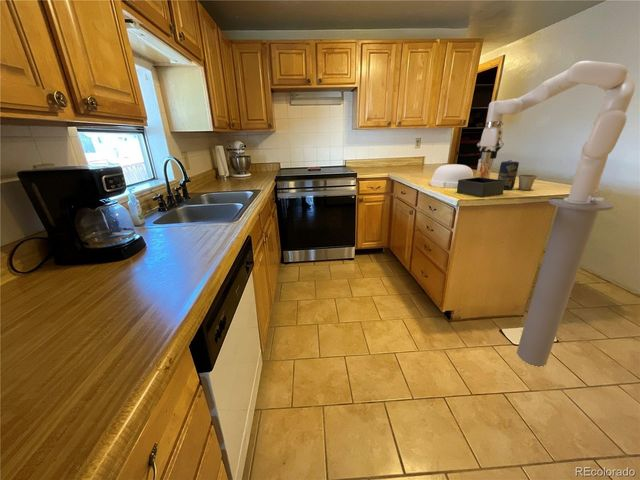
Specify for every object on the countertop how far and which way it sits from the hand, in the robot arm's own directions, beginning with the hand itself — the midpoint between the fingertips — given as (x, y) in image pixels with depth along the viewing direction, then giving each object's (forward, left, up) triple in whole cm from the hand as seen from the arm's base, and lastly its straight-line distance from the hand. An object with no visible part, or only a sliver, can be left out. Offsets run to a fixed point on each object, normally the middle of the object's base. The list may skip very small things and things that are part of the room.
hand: (487, 158), depth 156 cm
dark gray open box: (+1, +1, -21) cm, 21 cm away
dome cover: (+33, -10, -21) cm, 40 cm away
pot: (0, 0, -3) cm, 3 cm away
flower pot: (-6, -30, -21) cm, 37 cm away
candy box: (+37, -47, -21) cm, 63 cm away
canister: (+2, -23, -21) cm, 31 cm away
